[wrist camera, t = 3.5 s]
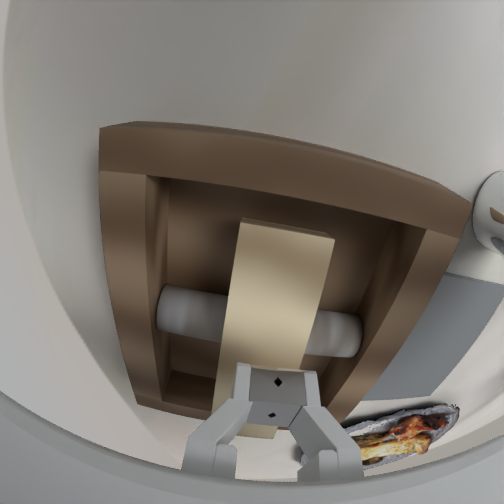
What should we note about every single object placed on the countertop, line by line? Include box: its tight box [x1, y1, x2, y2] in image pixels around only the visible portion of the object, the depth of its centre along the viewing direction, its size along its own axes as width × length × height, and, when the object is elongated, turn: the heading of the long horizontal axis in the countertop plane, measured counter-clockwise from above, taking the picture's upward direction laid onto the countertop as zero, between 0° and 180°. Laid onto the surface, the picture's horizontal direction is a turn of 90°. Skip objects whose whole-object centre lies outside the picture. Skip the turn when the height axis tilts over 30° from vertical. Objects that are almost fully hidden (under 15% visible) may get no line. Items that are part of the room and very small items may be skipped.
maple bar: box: [211, 217, 335, 439], centre depth 15 cm, size 14×4×2 cm, turn 171°
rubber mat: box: [361, 273, 504, 401], centre depth 21 cm, size 16×11×1 cm
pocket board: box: [99, 121, 473, 430], centre depth 17 cm, size 22×18×4 cm
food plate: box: [301, 403, 460, 470], centre depth 30 cm, size 25×23×4 cm
